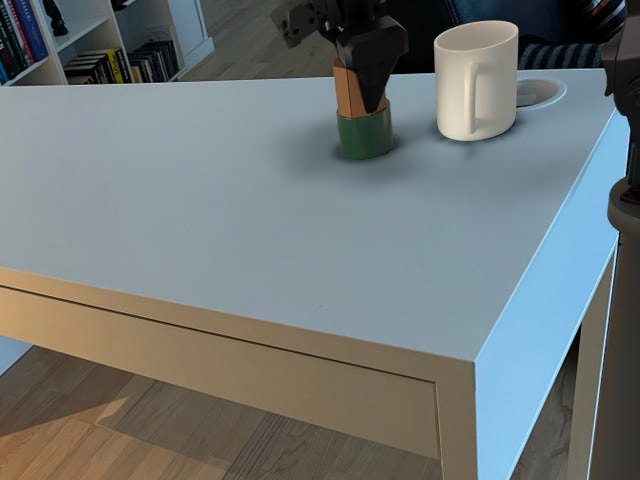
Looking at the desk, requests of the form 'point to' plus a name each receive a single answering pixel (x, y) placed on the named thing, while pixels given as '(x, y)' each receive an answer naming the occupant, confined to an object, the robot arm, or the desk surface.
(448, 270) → the desk surface
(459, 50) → the cup
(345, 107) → the octagonal wooden prism
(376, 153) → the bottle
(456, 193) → the desk surface
